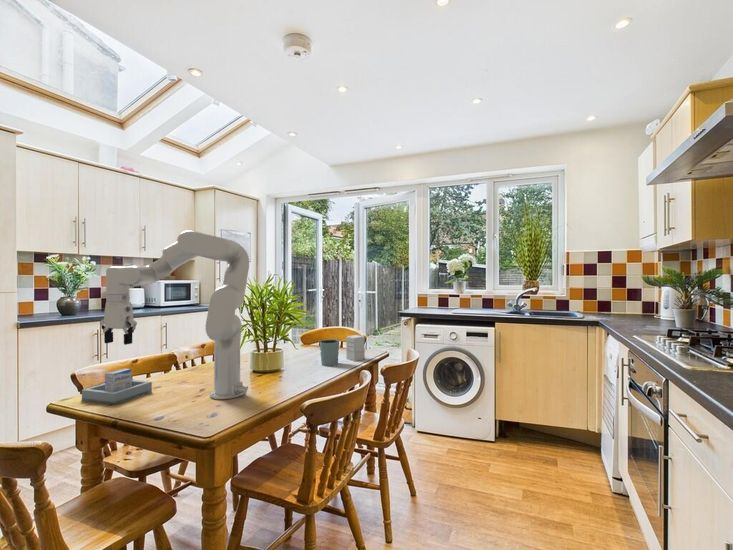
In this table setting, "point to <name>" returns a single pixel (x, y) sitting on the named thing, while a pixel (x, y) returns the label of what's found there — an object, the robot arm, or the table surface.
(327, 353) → the grey-green bucket
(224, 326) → the robot arm
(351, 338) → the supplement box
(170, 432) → the table surface
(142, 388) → the tray
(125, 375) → the medicine box
